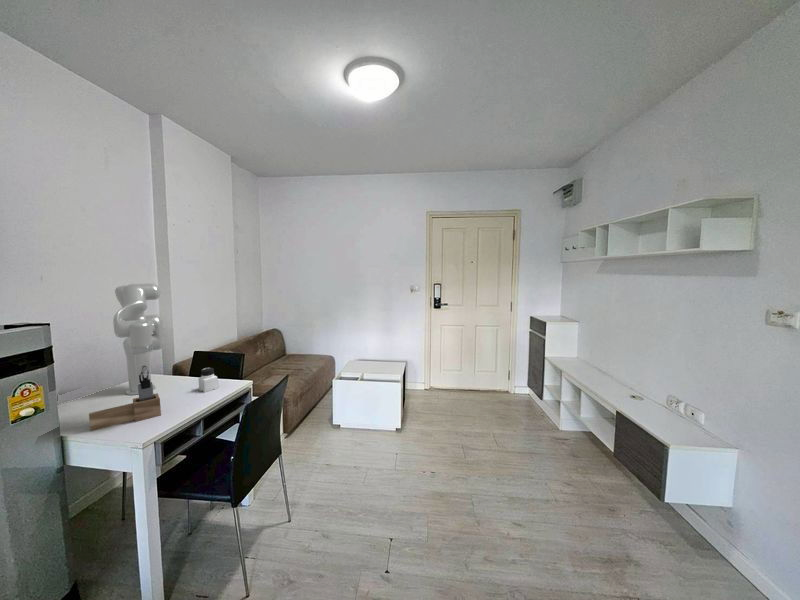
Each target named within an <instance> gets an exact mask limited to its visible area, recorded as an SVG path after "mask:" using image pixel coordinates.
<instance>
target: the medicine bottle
mask: <svg viewBox="0 0 800 600" xmlns="http://www.w3.org/2000/svg"><path fill="white" fill-rule="evenodd" d="M214 370H215V369H214V368H213V367H205V368H203V369H201V370H200V373H201V376H200V377H198V390H199V391H200V392H204V393H207V392H210V391H211V392H212V391H213V390H217V389H218V388H219V381H218V379H219V378H218V376H217V375H215V371H214Z"/></svg>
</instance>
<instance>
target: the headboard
mask: <svg viewBox="0 0 800 600" xmlns="http://www.w3.org/2000/svg"><path fill="white" fill-rule="evenodd" d="M153 397H154V399H150V400H146V401H141V402H139V397H134V398H132V402H131V403H128V404H127V403H126V404H123V405H120V406H119V405H118V406H115V407H111V408H109V407H108V408H105V409H101V410H97V411H92V412H89V413H88V418H89V419H88V420H89V429H90V432H92V431H93V432H94V431H96V430H100V429H103V428H107V427H111V426H115V425H120V424H124V423H127V422H132V421H135V423H137V422H142V421H145V420H148V419H153V418H156V417H160V416H162V410H161V408H162V407H161V398H160V396H159V393H158V392H157V393H153Z"/></svg>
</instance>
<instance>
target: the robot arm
mask: <svg viewBox="0 0 800 600" xmlns="http://www.w3.org/2000/svg"><path fill="white" fill-rule="evenodd" d="M114 294H115V298H116V300H117V301H118V302H119V304H120V305H121V308H120V309H119V310H118V311H116V313H115V314H114V317H113V322H112V323H113V330H114V331H113V332H114V335H115V336H116V337H117V338H121V339H122V338H124V340H123V341H122V342H123V343H122V345H123V349H124V352H125V353H124V354H125V358H126V364H127V365H126V366H127V378H128V389H127V390H126V391H125V394H126V395H130V396H135V395H139V394H138V384H141V389H146V388H150V387H151V386H150V382H152V375H151V373H152V372H151V353H152V352H153V351H157V350H161V349H163V348H164V346H165V339H164V329H163V322H162V321H163V320H162V318H161V316H159V315H158V314H149V315H145V311H146V310H147V309H148V304H147V301H153V300H154V301H155V300H158V299H159V298H160V295H161V291H160V288H159V286H158V285H157V284H156V283H132V284H131V283H130V284H126V285H121V286H120V285H119V286H117V287H116V288H115V289H114ZM152 385H153V390H155V388H156V385H154V384H152Z"/></svg>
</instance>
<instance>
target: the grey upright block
mask: <svg viewBox="0 0 800 600" xmlns="http://www.w3.org/2000/svg"><path fill="white" fill-rule="evenodd" d="M153 385H154V384H153V382H152V381H151V382H150V386H151V387H150V388H146V389H141V384H138V394H137V395H138V398H139V402H141V401H146V400H150V399H154V397H153V394H154V389H153Z"/></svg>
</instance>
